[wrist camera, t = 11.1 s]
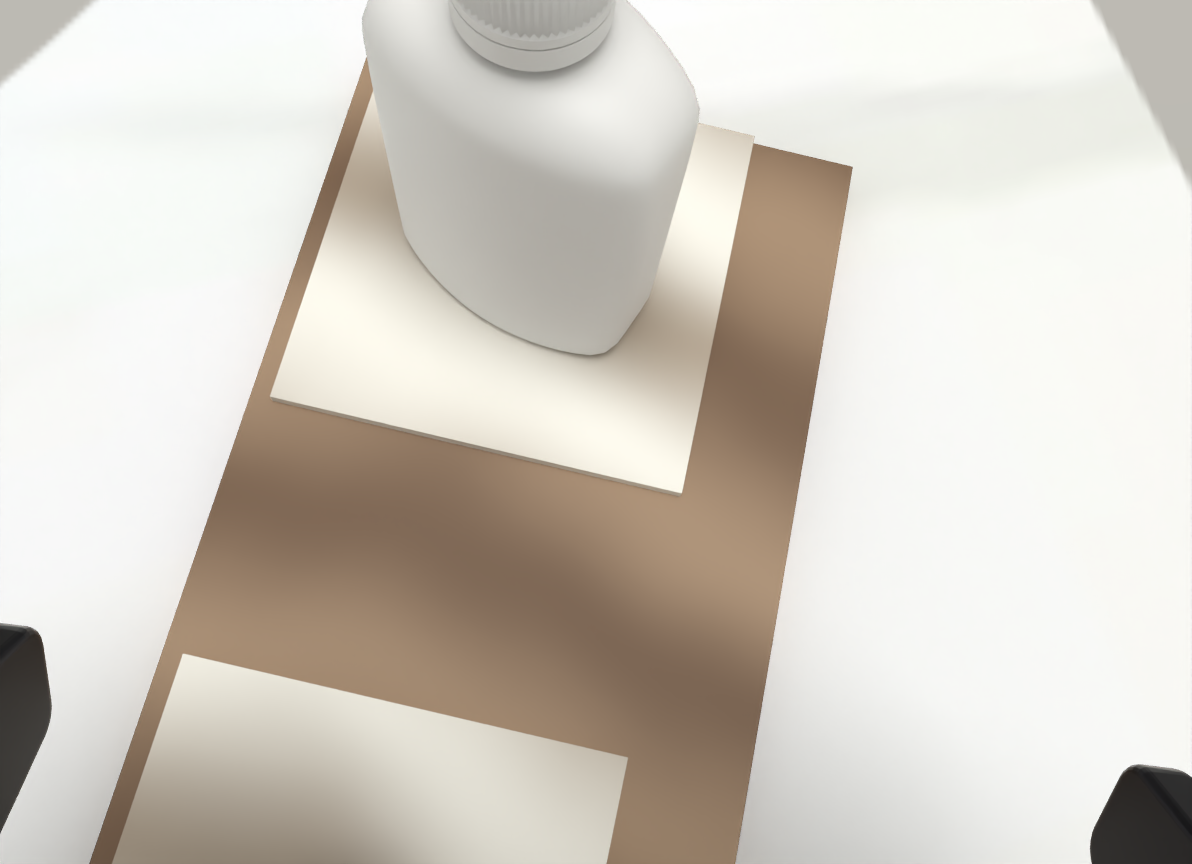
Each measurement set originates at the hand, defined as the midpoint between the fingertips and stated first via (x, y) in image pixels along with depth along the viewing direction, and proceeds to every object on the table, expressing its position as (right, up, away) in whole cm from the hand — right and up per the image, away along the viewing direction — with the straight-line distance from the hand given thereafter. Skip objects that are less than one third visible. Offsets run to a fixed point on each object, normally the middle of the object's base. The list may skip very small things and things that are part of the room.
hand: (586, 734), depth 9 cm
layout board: (-2, -1, +14) cm, 14 cm away
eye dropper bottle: (-1, +6, +15) cm, 16 cm away
